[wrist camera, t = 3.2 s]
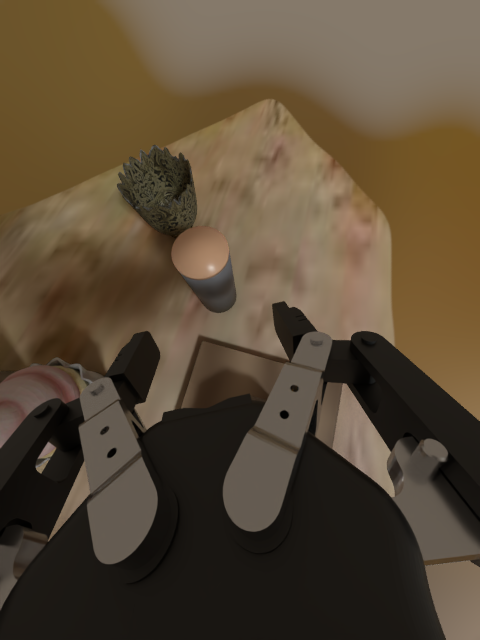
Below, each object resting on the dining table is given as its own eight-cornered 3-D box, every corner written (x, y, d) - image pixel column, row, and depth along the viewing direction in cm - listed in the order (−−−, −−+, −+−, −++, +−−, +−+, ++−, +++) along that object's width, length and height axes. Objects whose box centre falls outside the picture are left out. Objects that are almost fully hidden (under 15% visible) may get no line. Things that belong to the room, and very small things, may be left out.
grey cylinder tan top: (197, 307, 24) (163, 270, 14) (207, 276, 25) (182, 220, 15) (230, 316, 24) (218, 284, 14) (240, 284, 25) (235, 232, 15)
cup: (217, 220, 27) (205, 162, 19) (187, 262, 26) (161, 218, 18) (174, 198, 28) (146, 135, 20) (144, 237, 27) (101, 185, 19)
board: (156, 490, 20) (152, 497, 19) (204, 341, 23) (202, 340, 22) (311, 547, 18) (314, 557, 17) (338, 379, 22) (343, 380, 21)
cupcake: (110, 344, 24) (14, 330, 14) (140, 416, 22) (51, 460, 12) (38, 383, 23) (-118, 398, 13) (62, 462, 21) (-101, 548, 11)
